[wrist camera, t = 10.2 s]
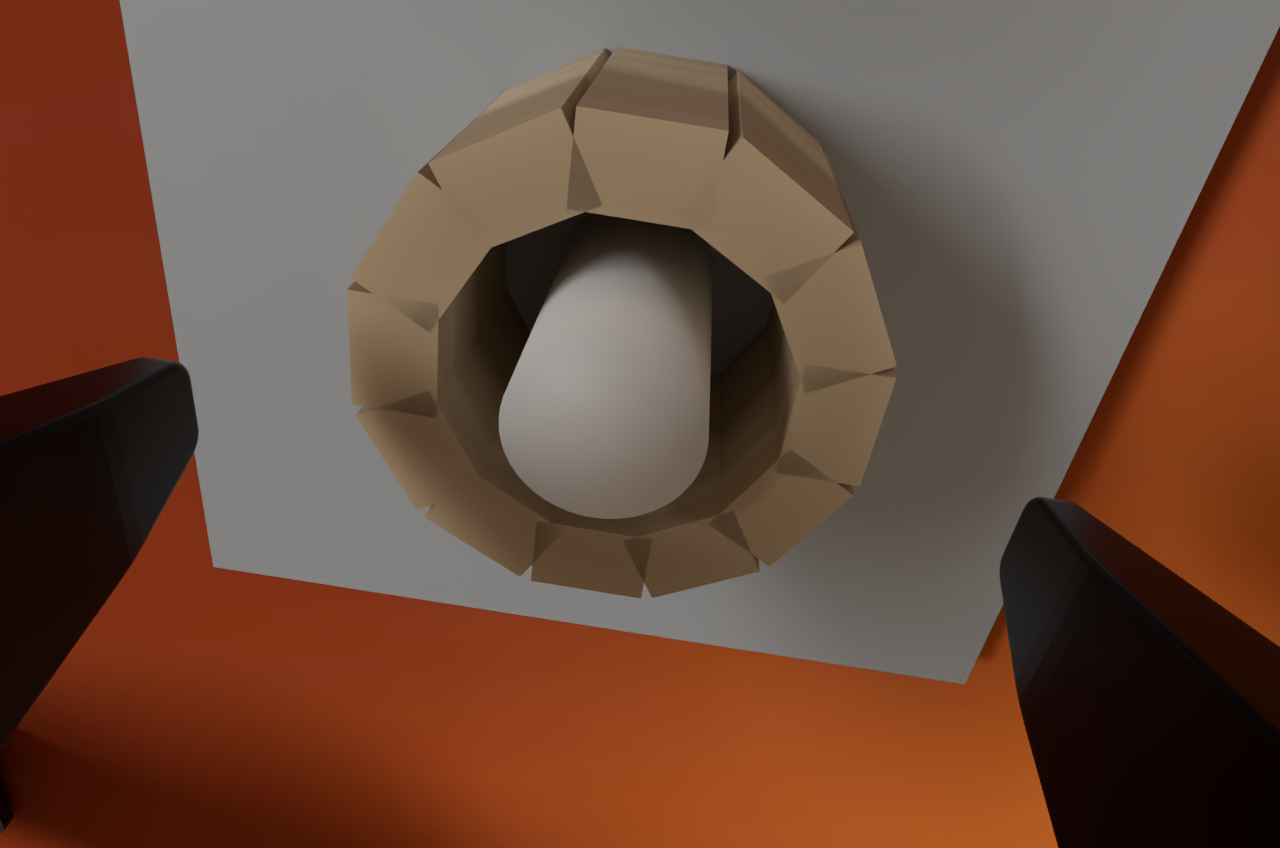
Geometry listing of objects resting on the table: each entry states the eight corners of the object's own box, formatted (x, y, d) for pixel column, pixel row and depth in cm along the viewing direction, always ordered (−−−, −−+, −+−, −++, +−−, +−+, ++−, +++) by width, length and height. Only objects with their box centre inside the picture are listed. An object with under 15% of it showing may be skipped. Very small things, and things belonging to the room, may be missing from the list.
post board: (236, 536, 19) (60, 770, 14) (92, -461, 11) (-472, -774, 6) (954, 649, 19) (1037, 923, 14) (1368, -261, 11) (1941, -394, 6)
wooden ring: (436, 411, 16) (357, 553, 13) (443, 18, 12) (338, 67, 9) (794, 468, 16) (813, 626, 13) (900, 92, 12) (967, 169, 9)
